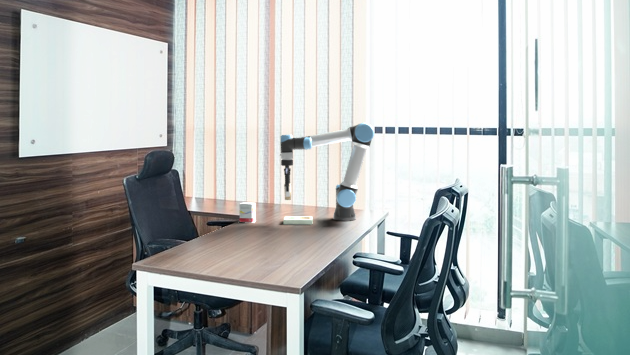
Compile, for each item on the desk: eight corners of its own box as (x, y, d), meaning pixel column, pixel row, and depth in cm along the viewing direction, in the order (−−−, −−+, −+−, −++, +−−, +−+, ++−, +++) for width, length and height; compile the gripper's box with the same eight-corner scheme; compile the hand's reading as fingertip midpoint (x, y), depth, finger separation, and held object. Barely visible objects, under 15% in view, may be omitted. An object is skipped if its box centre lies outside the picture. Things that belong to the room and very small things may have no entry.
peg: (291, 199, 310) (290, 183, 309) (290, 199, 306) (290, 184, 305) (285, 199, 310) (284, 183, 309) (284, 200, 306) (284, 184, 305)
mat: (256, 220, 318) (256, 219, 318) (254, 223, 308) (254, 222, 308) (241, 220, 318) (241, 219, 318) (238, 222, 308) (238, 222, 308)
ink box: (252, 222, 308) (251, 204, 307) (239, 222, 310) (238, 203, 308) (256, 220, 316) (255, 202, 315) (243, 219, 318) (243, 201, 317)
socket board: (312, 221, 315) (312, 216, 315) (312, 224, 303) (312, 219, 303) (285, 220, 316) (285, 216, 315) (283, 224, 304) (283, 219, 303)
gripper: (282, 158, 314) (283, 194, 316) (279, 160, 297) (280, 198, 299) (293, 158, 314) (294, 194, 316) (292, 160, 297) (293, 197, 299)
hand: (287, 196), depth 308 cm, fingers closed on peg, 4 cm apart
